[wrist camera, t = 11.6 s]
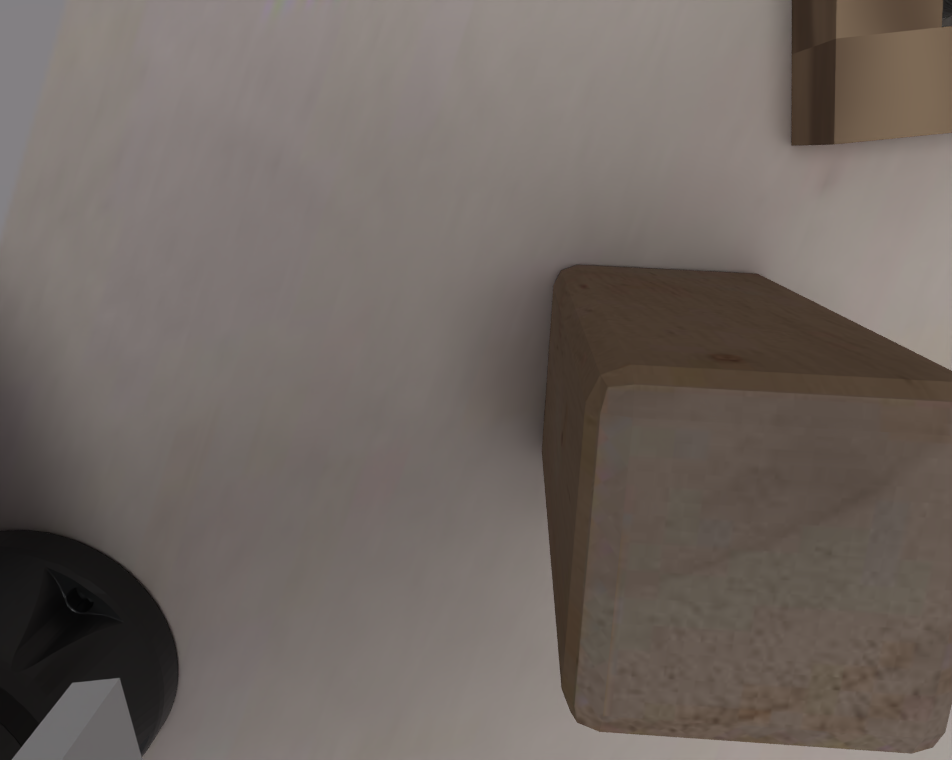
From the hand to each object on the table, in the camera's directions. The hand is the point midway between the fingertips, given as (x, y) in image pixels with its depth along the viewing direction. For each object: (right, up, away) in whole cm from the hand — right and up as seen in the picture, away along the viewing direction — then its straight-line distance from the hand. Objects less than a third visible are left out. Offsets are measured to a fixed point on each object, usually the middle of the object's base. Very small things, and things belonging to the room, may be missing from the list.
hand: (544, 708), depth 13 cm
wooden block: (+7, +6, +26) cm, 28 cm away
